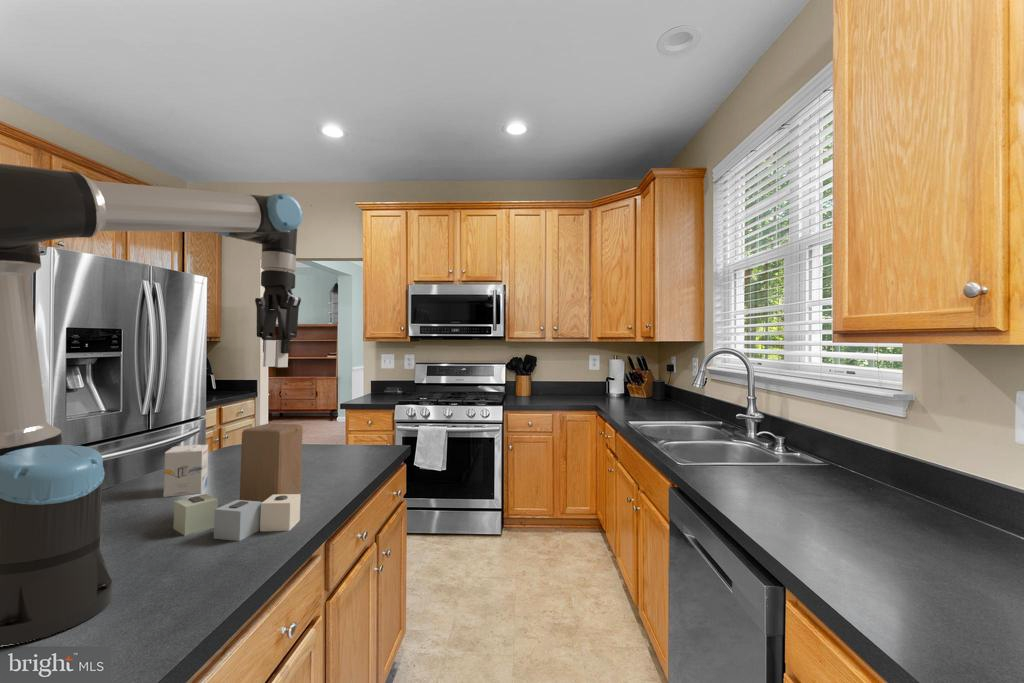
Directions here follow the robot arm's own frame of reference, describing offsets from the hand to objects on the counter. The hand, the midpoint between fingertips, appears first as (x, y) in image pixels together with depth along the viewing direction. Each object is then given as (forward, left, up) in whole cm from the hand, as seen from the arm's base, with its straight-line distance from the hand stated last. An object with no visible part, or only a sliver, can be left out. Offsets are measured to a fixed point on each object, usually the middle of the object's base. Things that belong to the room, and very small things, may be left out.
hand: (275, 366), depth 109 cm
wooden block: (0, 0, -35) cm, 35 cm away
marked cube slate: (-13, -7, -35) cm, 38 cm away
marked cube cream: (-6, -11, -35) cm, 37 cm away
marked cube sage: (-15, +4, -35) cm, 38 cm away
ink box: (-1, +32, -35) cm, 47 cm away
